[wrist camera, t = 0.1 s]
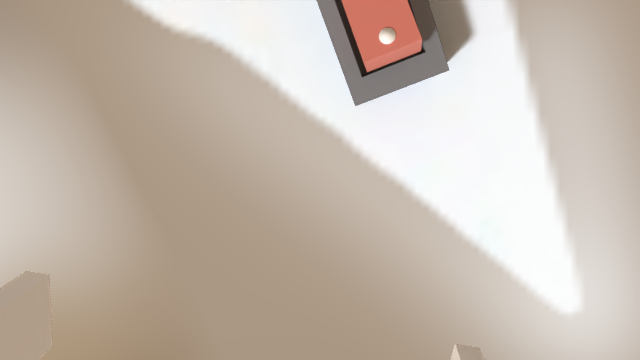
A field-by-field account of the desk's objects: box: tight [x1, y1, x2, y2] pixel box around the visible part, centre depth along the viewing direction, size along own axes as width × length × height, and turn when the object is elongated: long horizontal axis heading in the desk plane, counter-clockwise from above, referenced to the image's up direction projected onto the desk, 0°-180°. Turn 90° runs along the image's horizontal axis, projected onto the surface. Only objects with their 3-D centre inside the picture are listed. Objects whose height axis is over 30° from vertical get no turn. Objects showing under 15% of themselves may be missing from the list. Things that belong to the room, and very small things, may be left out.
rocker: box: [341, 0, 422, 72], centre depth 32 cm, size 6×4×2 cm
